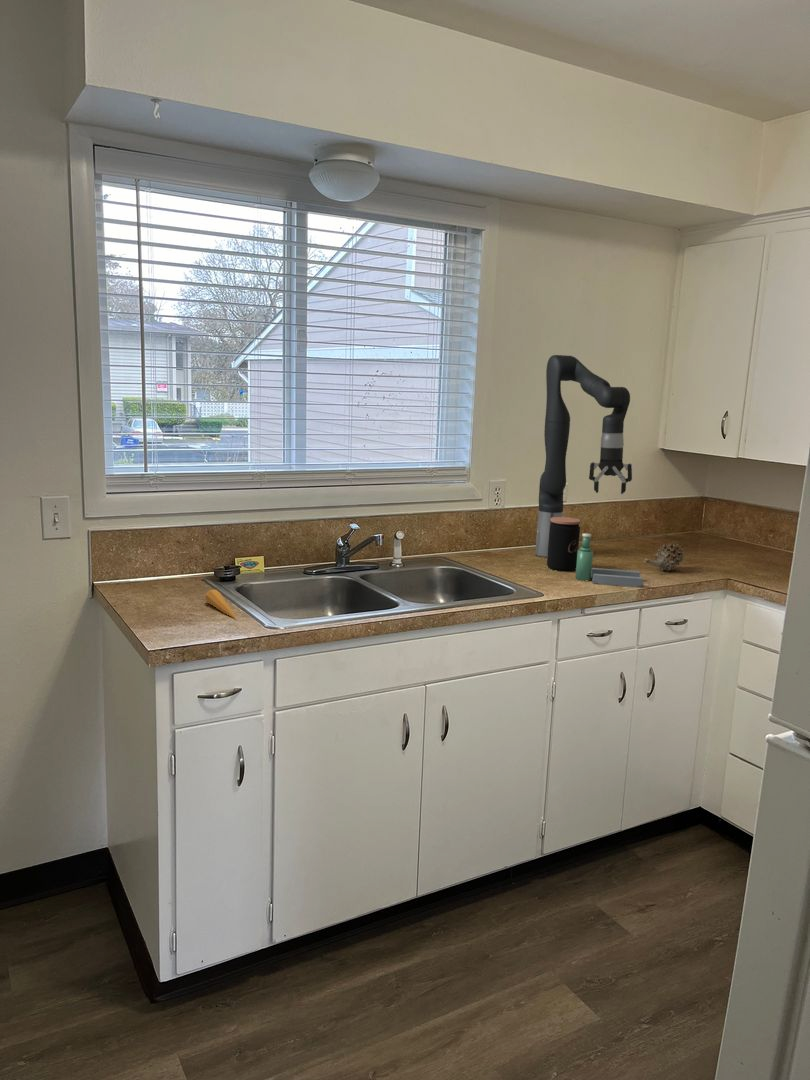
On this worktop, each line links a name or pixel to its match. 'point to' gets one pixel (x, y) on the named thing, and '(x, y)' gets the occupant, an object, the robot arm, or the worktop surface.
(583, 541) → the bottle
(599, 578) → the cradle
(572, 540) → the coffee jar
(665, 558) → the pine cone
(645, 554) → the worktop surface
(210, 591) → the carrot
